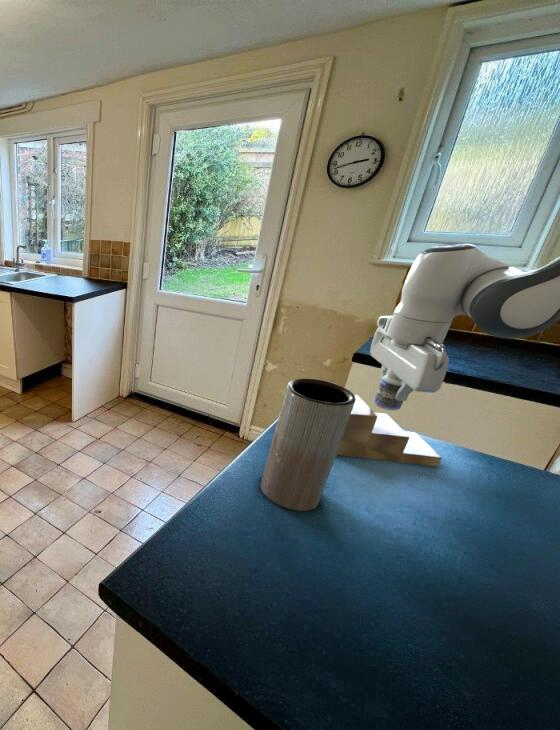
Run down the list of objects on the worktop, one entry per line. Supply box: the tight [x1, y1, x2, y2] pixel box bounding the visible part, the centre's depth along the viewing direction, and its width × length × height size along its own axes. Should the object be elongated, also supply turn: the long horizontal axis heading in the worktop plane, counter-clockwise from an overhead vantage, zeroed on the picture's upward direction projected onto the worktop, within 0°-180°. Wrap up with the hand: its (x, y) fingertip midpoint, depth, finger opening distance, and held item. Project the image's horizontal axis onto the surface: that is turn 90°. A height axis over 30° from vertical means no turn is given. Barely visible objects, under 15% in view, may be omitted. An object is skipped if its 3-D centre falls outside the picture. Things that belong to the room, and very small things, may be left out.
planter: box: [260, 378, 356, 512], centre depth 75 cm, size 10×10×23 cm
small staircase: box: [336, 394, 443, 467], centre depth 91 cm, size 21×10×11 cm, turn 76°
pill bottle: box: [372, 368, 404, 411], centre depth 87 cm, size 5×5×8 cm
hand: (391, 392), depth 87 cm, fingers closed on pill bottle, 5 cm apart
